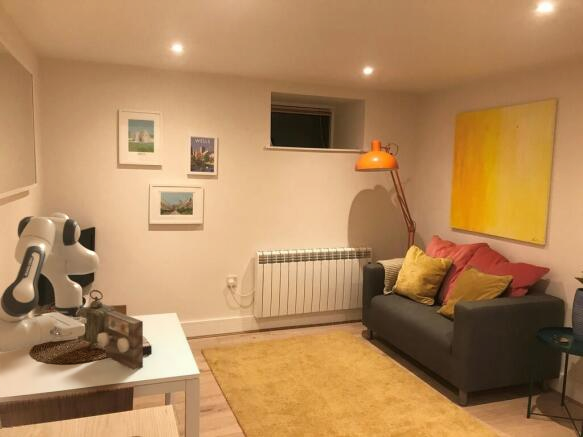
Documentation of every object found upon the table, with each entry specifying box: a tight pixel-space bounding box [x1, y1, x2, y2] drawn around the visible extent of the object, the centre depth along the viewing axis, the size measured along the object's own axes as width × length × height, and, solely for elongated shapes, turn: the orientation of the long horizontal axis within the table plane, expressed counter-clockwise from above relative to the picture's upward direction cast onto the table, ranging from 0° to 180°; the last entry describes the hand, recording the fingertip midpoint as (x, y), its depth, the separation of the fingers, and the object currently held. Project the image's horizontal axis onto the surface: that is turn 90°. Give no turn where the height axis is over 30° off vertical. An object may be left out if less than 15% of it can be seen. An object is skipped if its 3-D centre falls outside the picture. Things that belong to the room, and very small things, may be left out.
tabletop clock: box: [77, 289, 116, 350], centre depth 202 cm, size 14×9×25 cm, turn 66°
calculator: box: [143, 335, 153, 356], centre depth 202 cm, size 11×4×15 cm
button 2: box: [117, 338, 130, 353], centre depth 185 cm, size 7×5×5 cm
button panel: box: [105, 310, 144, 371], centre depth 189 cm, size 4×20×18 cm, turn 51°
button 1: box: [97, 332, 113, 348], centre depth 190 cm, size 7×5×5 cm
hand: (84, 319), depth 170 cm, fingers closed
